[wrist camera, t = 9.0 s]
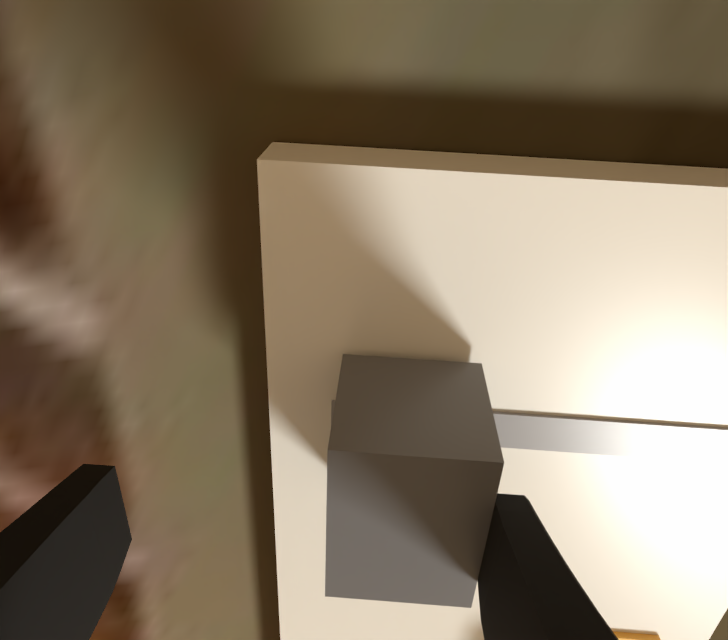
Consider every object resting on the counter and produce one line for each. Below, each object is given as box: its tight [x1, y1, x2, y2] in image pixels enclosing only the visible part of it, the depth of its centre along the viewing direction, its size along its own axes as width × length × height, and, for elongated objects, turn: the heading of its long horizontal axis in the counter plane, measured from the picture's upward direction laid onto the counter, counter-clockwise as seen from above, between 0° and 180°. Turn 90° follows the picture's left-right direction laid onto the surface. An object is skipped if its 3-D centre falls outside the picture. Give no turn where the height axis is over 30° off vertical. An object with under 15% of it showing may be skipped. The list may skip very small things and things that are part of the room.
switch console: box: [257, 142, 728, 640], centre depth 17 cm, size 13×24×2 cm, turn 177°
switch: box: [325, 354, 504, 608], centre depth 12 cm, size 3×4×3 cm
